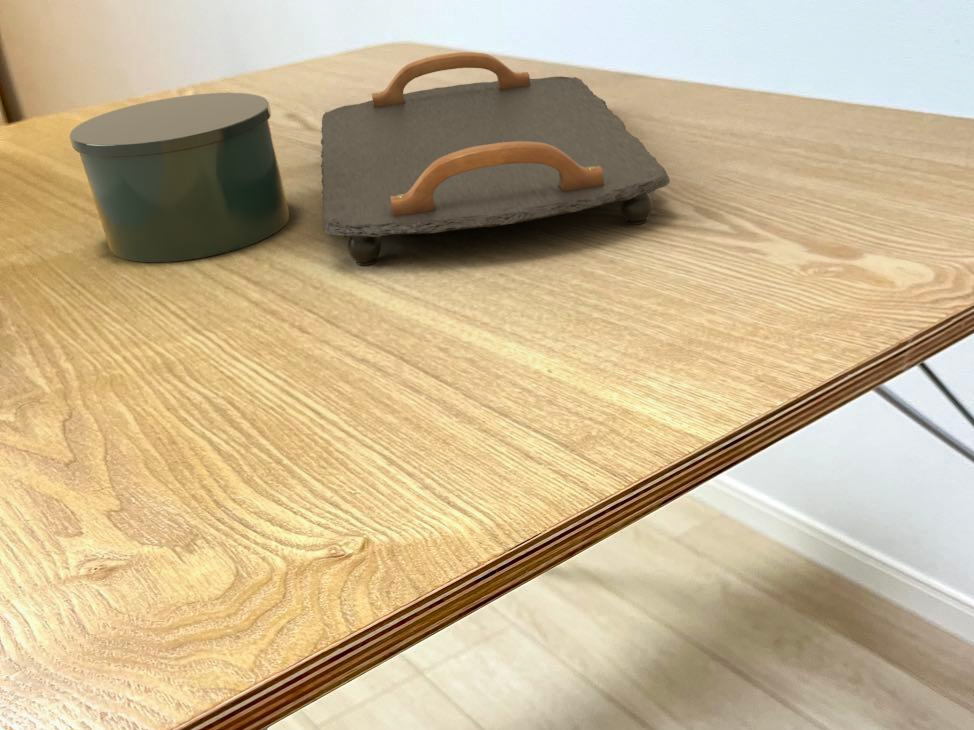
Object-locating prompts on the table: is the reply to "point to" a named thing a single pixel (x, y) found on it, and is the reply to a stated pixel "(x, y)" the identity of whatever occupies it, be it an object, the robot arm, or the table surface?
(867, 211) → the table surface
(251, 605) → the table surface
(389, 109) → the serving tray
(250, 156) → the canister
